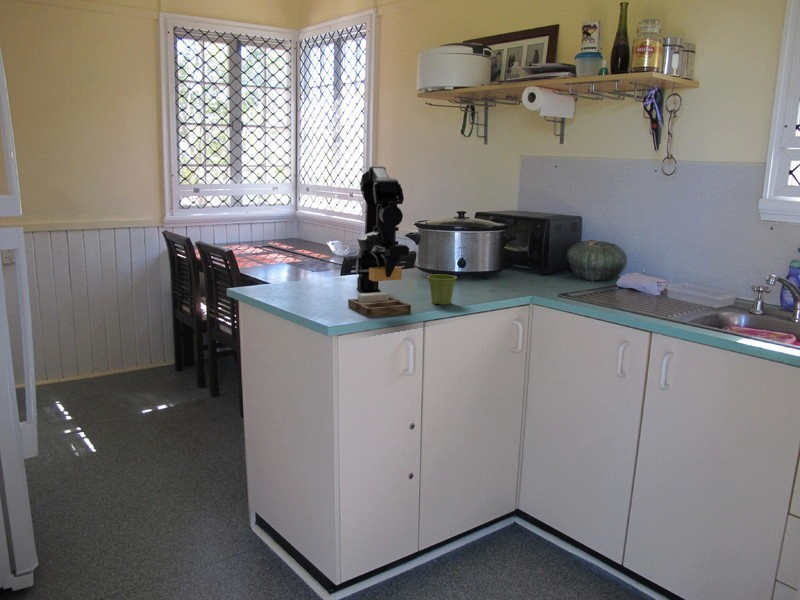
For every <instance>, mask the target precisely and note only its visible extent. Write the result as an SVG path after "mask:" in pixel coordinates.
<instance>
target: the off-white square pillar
mask: <svg viewBox="0 0 800 600" xmlns="http://www.w3.org/2000/svg"><path fill="white" fill-rule="evenodd" d="M389 296H390V293H388V292H385V291H376V292H363V293H357V299H358V303H364V302H375V301H387V300H389Z"/></svg>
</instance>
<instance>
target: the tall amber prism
mask: <svg viewBox="0 0 800 600" xmlns="http://www.w3.org/2000/svg"><path fill="white" fill-rule="evenodd" d="M402 272H403V269H402V267H401V266H398V265H396V266H395V268H394V270H393V272H392V274H391V276H390V277H386V271H385V267H372V268H369V280H372V281H379V282H383V281H399V280H402Z"/></svg>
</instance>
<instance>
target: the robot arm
mask: <svg viewBox="0 0 800 600" xmlns="http://www.w3.org/2000/svg"><path fill="white" fill-rule="evenodd" d="M401 185H402V184H401V183H399V180H398V179H396V178H391V177H390V176H389V175H388V173H387V169H386V167H385V166H378V165H377V166H373V165H371V166H369V167H368V170H367V171H365V172H364V173H363V174H362V175H361V179H360V185H359V186H360V192H361V195H362V197H363V199H364V201H365V221H364V222H365V224H364V225H365V226H364V234H363V235H360V236H359V237H357V238H356V240H357V242H358V243H357V244H358V246H359V250H358V251H359V253H358V256H356V264H355V273H356V274H357V275H358V276H357V281H356V286H357V287H356V290H358V291H360V292H361V293H377V292H382V291H381V290H382V289H380V288H379V282H380V281H372V280H369V268H372V267H385V271H386V277H390V276H391V274H392V272H393V270H394V268H395V266H397V264H398V262H399V261H400V259H401V257H403V256H404V257H405V256H410V247H409V246H408V245H406V244H402V243H399V241H398V240H396V239H397V236H396V235H397V234H396V233H397V231H399V229H400V228H399V225H400V224H401V223H402V221H403V217H404V215H403V212H402V209H401V208H400V207H398V205H403V202H404V199H405V198H404V191H403V187H402V186H401Z"/></svg>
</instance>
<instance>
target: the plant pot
mask: <svg viewBox="0 0 800 600" xmlns="http://www.w3.org/2000/svg"><path fill="white" fill-rule="evenodd" d="M426 278H427V279H428V282H429V288H430V300H431V303H432V304H434V305H440V306H441V305H442V306H443V305H444V306H445V305H450V304H451V303H452V298H453V292H454V286H455V283H456V280H457V279H458V277H457V276H456V275H451V274H438V273H437V274H430V275H427V277H426Z"/></svg>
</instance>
